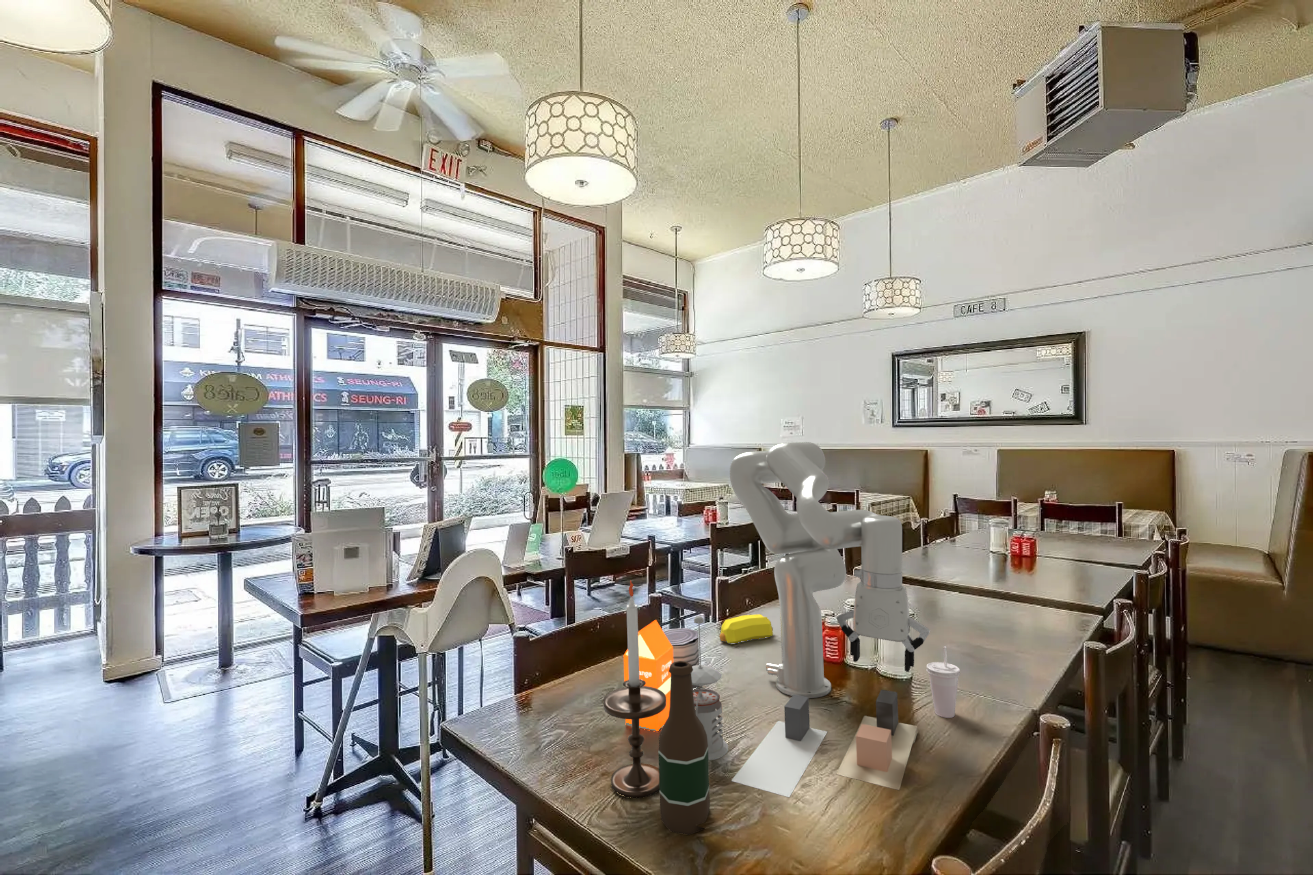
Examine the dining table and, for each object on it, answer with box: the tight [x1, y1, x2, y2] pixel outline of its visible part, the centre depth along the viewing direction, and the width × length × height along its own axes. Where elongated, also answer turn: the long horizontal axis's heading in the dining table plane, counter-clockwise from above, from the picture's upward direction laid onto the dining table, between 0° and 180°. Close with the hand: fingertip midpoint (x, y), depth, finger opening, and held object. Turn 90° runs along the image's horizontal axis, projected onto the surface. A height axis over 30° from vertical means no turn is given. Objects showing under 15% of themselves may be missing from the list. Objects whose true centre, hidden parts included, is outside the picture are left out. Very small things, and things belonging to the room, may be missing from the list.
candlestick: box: [603, 579, 666, 799], centre depth 101 cm, size 11×11×35 cm
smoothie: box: [925, 645, 961, 719], centre depth 122 cm, size 6×6×14 cm
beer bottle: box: [657, 661, 711, 836], centre depth 90 cm, size 8×8×24 cm
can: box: [663, 627, 700, 689], centre depth 142 cm, size 11×11×12 cm
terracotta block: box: [856, 723, 892, 772], centre depth 103 cm, size 5×5×5 cm
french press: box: [691, 615, 729, 761], centre depth 111 cm, size 10×12×25 cm
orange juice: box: [623, 619, 673, 732], centre depth 124 cm, size 8×9×20 cm
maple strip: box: [835, 689, 919, 791], centre depth 107 cm, size 10×24×7 cm, turn 149°
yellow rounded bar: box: [719, 613, 774, 644], centre depth 173 cm, size 18×7×8 cm
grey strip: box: [731, 695, 828, 798], centre depth 106 cm, size 10×24×7 cm, turn 149°
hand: (881, 664), depth 116 cm, fingers open, 9 cm apart
